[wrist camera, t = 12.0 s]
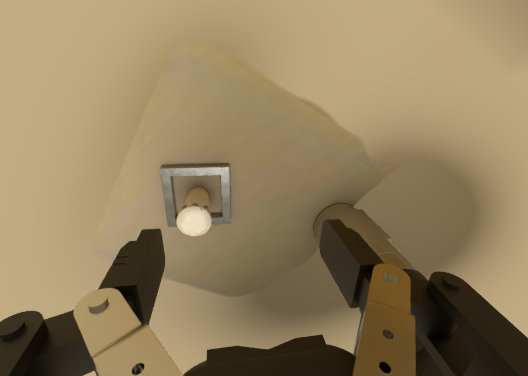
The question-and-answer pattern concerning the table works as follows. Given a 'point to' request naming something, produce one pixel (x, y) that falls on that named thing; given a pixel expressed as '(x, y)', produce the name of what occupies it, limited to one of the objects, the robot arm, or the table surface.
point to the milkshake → (195, 213)
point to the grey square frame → (195, 170)
